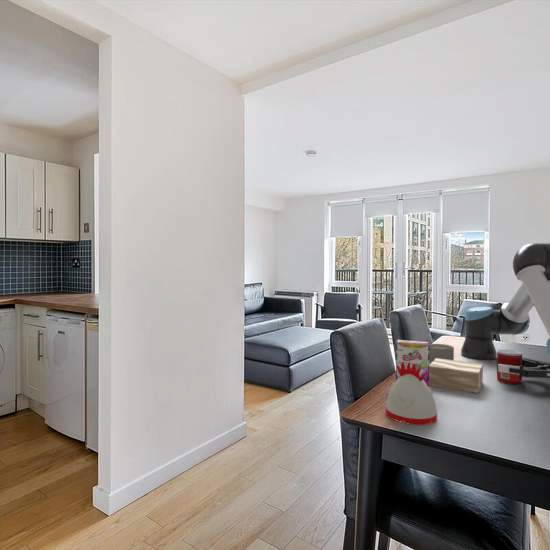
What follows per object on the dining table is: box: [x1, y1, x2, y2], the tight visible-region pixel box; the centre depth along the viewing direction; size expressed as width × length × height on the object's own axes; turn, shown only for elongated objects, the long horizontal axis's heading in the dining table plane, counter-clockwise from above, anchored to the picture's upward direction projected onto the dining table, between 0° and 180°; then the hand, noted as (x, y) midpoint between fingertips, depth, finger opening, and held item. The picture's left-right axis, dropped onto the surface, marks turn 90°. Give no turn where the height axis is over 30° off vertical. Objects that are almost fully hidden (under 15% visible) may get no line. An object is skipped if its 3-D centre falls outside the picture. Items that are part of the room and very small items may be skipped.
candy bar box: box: [394, 339, 430, 388], centre depth 131 cm, size 11×5×16 cm, turn 71°
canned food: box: [496, 349, 523, 385], centre depth 140 cm, size 8×8×11 cm
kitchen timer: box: [385, 362, 438, 426], centre depth 107 cm, size 14×14×15 cm
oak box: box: [429, 358, 484, 394], centre depth 136 cm, size 14×16×7 cm
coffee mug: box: [429, 343, 455, 365], centre depth 155 cm, size 13×10×10 cm
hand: (499, 363), depth 141 cm, fingers open, 13 cm apart
